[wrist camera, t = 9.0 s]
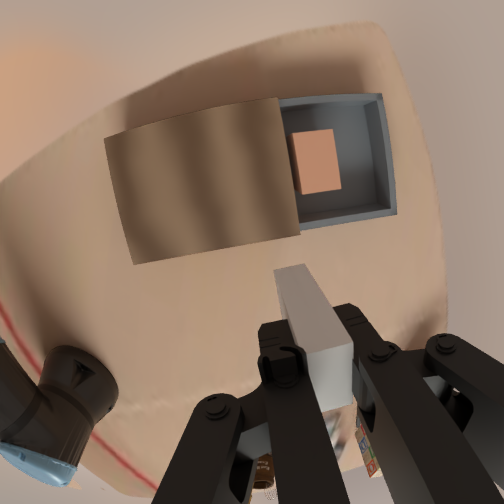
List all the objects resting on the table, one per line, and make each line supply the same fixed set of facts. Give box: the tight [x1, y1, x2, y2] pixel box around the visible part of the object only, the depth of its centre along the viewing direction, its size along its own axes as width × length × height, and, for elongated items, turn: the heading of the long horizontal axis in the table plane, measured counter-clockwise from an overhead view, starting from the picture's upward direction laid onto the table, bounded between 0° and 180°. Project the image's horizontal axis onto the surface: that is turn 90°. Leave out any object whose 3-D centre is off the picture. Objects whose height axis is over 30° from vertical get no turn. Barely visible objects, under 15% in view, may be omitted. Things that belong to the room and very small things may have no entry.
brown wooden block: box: [104, 97, 301, 265], centre depth 30 cm, size 18×14×6 cm
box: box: [278, 93, 397, 231], centre depth 31 cm, size 12×14×4 cm
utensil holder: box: [248, 454, 276, 504], centre depth 45 cm, size 6×6×12 cm
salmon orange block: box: [285, 129, 341, 195], centre depth 29 cm, size 6×6×4 cm
